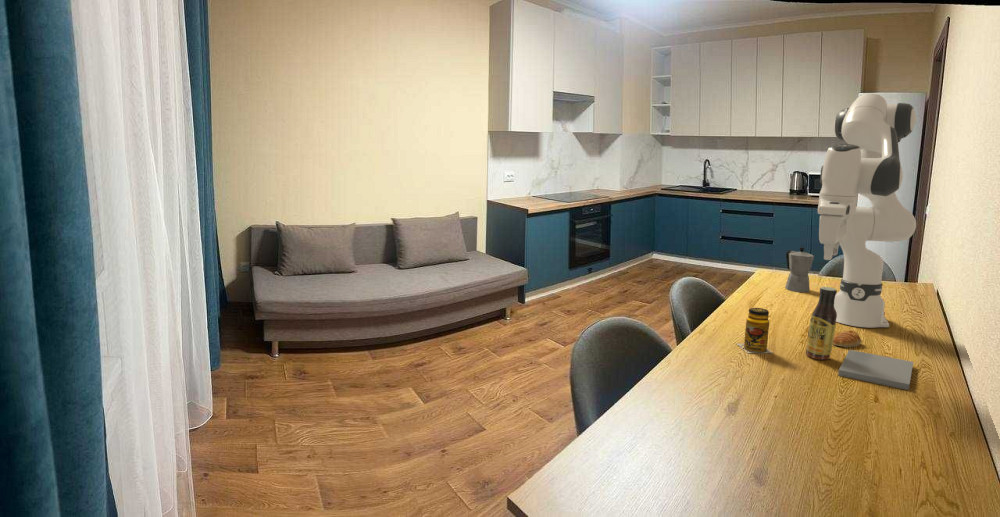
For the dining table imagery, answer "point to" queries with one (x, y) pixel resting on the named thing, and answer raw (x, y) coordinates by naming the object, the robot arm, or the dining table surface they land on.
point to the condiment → (756, 331)
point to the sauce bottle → (822, 326)
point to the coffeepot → (798, 270)
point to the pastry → (847, 339)
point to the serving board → (877, 369)
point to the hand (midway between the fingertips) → (830, 257)
